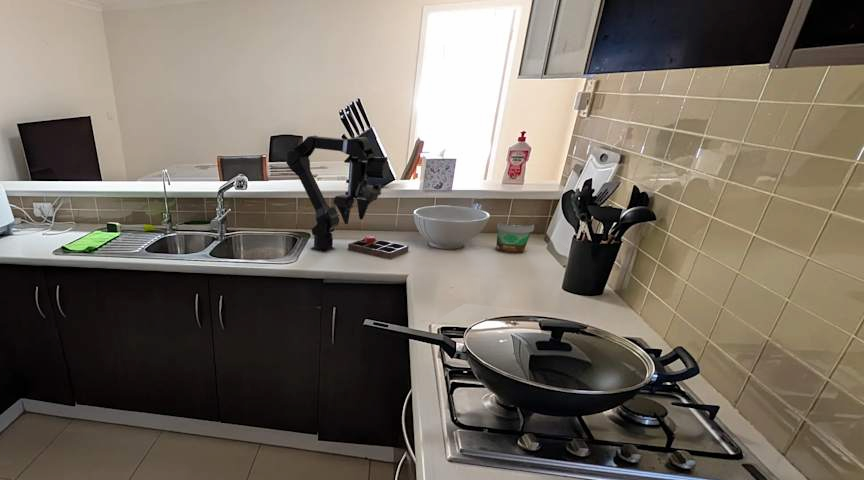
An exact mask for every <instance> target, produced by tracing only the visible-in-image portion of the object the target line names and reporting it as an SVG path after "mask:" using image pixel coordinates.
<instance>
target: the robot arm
mask: <svg viewBox="0 0 864 480" xmlns="http://www.w3.org/2000/svg"><path fill="white" fill-rule="evenodd" d="M371 144H372V143H371V141H370V139H369V138H368V137H366V136H361V137H360V136H359V137H352V138H338V137H328V136H317V135H309V136H307V137H306V138H305V139H304V140H303V141H302V142H301V143H300V144H298V145H297V146H296V147H294V148H293V150H290V151H288V152H287V154H286V157H285V163H286V165H287V166H288V167H289V169H290V171H292V172H293V173H294V174H295V175H296V176H297V177H298V178H299V181H300V183H301V184H302V186H303V188H304V190H305V192H306V194H307V197H308V199H309V201H310V202H311V205H312V207H313V209H314V212H315V221H316V224H315V225H314V226H313V227H312V228H311V234H312V236H313V246H312V247H311V248H310V249H311V250H314V251H317V252H322V253H325V252H328V251H330V250H331V251H332V250H334V249H335V247H334V246H333V241H334V238H333V232H334V231H335V230H336V228H337V227H338V226H339V224H340V216H341V218H342V221H343V223H344V225H348V224H349V220H350V214H351V210H352V208H353V207H354V203H355V201H356V205H357V210H358V218H359V220H361V221H362V220H363V219H364V217H365V215H366V212H367V210H368V207H369V206H370V204H372V203H373V202H374V201H377V200H378V197H379V196H381V195H382V193H381V192H382V185H380V184H379V183H378V184H375V185H370V184H369V179H381V180H382V179H383V180H385V179H387V177H388V176H389V172H390V163H389V161H388V158H389V156H382V157H381V156H380V157H379V156H377V155H376V153H375V152H374V150H373V148H372V146H371ZM315 149H316V150H327V151H336V152H341V153H343V154H345V155H348V157H347V158H346V159H344V161H343V162H344V163H345V164H346V163H347V164H349V171H348V179H346V180H345V183H346V184H347V191H345V194H339V195H336V196H334V197H333V202H332V203H333V206H330V205H329V204H328V203H327V201H326V199H325V197H324V195H323V193H322V191H321V189H320V186H319V185H318V183H317V181H316V179H315V177H314V175H313V173H312V170H311V161H310V158H309V157H310V156H311V155H313V153H314V151H315ZM366 177H368V178H369V179H366ZM336 207H337V208H336ZM337 209H338V212H339V213H340V214H339V213H338V212H337Z"/></svg>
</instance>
